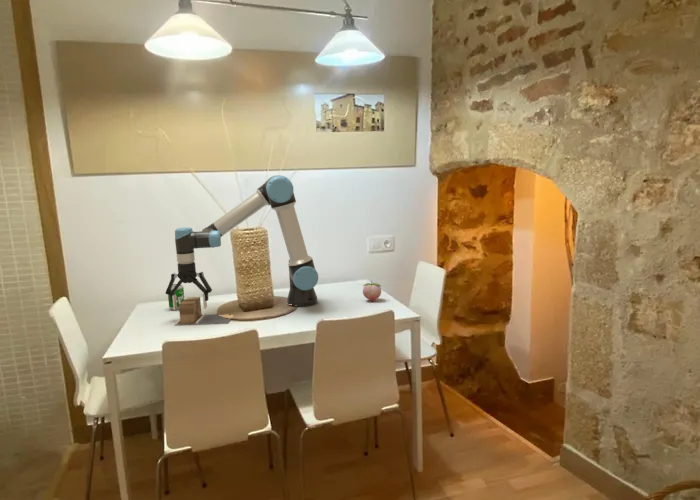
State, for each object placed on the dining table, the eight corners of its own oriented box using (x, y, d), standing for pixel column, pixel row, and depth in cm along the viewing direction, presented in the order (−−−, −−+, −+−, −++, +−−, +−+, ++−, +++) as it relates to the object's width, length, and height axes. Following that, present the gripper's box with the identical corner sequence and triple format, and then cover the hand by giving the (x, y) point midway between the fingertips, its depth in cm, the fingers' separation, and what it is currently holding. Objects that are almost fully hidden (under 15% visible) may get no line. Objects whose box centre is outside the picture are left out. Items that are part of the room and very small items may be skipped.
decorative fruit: (382, 298, 259) (381, 279, 258) (381, 302, 251) (380, 283, 250) (363, 298, 260) (362, 279, 259) (362, 303, 252) (361, 283, 251)
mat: (235, 314, 241) (235, 311, 240) (228, 324, 225) (228, 321, 225) (184, 316, 240) (184, 313, 240) (173, 326, 225) (173, 324, 224)
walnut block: (194, 323, 227) (192, 303, 225) (180, 324, 227) (178, 304, 225) (201, 315, 238) (200, 296, 237) (188, 316, 238) (187, 297, 237)
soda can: (168, 311, 250) (166, 287, 248) (169, 307, 257) (167, 284, 255) (184, 309, 252) (182, 286, 250) (185, 305, 259) (183, 282, 257)
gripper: (216, 259, 232) (219, 305, 235) (161, 261, 232) (165, 307, 235) (212, 262, 225) (215, 309, 228) (155, 265, 224) (159, 311, 228)
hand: (190, 308), depth 232 cm, fingers open, 13 cm apart
